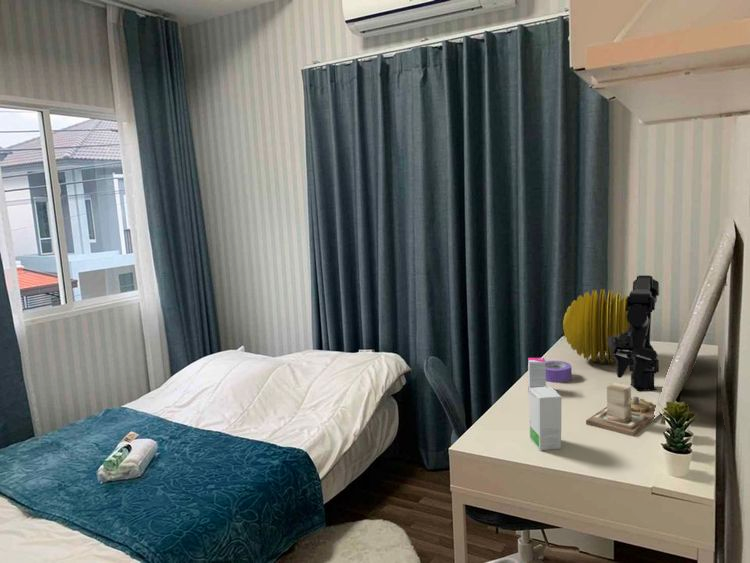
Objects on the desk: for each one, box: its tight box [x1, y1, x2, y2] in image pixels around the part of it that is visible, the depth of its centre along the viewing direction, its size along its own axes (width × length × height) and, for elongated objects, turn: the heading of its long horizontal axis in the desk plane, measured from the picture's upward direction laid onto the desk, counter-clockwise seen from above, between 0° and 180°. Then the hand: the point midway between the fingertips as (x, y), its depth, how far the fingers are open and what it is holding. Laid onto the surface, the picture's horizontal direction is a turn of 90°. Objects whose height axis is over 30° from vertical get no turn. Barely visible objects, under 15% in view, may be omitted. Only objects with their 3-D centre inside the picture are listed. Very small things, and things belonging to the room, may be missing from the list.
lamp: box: [562, 288, 629, 365], centre depth 224 cm, size 30×30×30 cm
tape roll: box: [545, 360, 573, 383], centre depth 212 cm, size 12×12×5 cm
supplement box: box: [527, 357, 547, 390], centre depth 200 cm, size 6×6×12 cm
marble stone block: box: [606, 382, 632, 423], centre depth 168 cm, size 7×7×10 cm
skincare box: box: [528, 385, 563, 452], centre depth 157 cm, size 8×7×16 cm
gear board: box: [585, 396, 657, 437], centre depth 172 cm, size 24×14×4 cm, turn 133°
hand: (626, 378), depth 177 cm, fingers open, 9 cm apart
